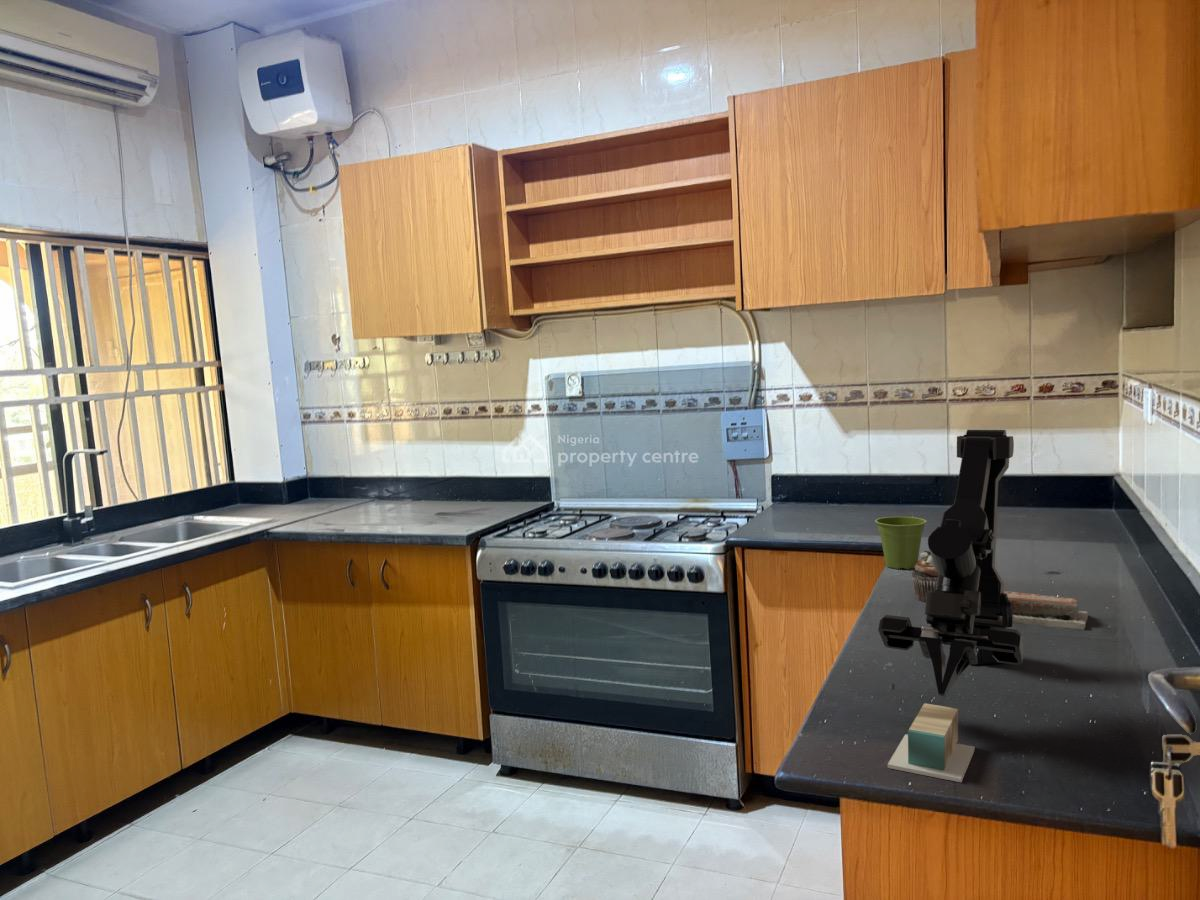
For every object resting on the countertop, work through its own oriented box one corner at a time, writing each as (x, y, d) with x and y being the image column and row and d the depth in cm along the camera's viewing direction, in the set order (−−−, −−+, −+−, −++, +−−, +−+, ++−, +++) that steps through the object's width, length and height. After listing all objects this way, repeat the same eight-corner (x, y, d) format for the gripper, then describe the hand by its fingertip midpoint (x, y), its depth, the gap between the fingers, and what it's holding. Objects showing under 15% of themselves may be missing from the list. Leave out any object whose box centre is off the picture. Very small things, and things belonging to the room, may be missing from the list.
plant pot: (933, 563, 218) (932, 517, 217) (918, 574, 209) (918, 526, 208) (884, 558, 225) (884, 514, 224) (868, 568, 216) (867, 523, 215)
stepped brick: (980, 597, 174) (988, 584, 183) (980, 621, 175) (987, 607, 183) (1085, 607, 165) (1088, 593, 173) (1085, 632, 165) (1088, 617, 174)
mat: (905, 737, 125) (905, 734, 125) (974, 750, 120) (974, 746, 120) (887, 767, 116) (887, 764, 116) (961, 782, 112) (961, 778, 112)
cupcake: (903, 594, 194) (903, 548, 193) (946, 590, 195) (946, 545, 193) (923, 606, 184) (923, 559, 183) (969, 603, 185) (968, 555, 184)
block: (924, 703, 124) (907, 731, 116) (957, 708, 122) (943, 737, 113) (924, 733, 125) (908, 763, 116) (958, 739, 122) (943, 770, 114)
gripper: (880, 561, 130) (861, 659, 122) (1021, 572, 121) (1010, 680, 113) (894, 598, 138) (876, 693, 130) (1027, 612, 128) (1017, 715, 120)
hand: (941, 695), depth 123 cm, fingers closed
